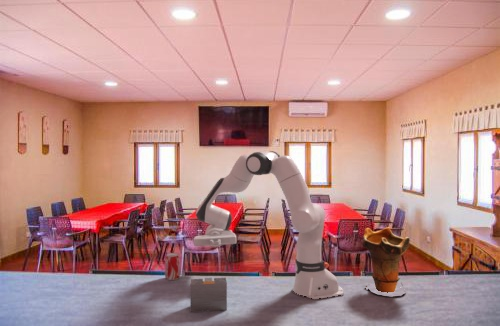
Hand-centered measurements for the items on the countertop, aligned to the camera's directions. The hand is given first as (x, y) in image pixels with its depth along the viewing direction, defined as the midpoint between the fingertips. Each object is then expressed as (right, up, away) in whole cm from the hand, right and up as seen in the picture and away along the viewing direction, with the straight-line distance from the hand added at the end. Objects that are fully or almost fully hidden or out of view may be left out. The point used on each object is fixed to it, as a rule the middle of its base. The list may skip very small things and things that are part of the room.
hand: (215, 243), depth 167 cm
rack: (-1, -21, -20) cm, 29 cm away
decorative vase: (+77, -21, 0) cm, 80 cm away
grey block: (-1, -21, -17) cm, 27 cm away
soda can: (-23, -20, +14) cm, 33 cm away
